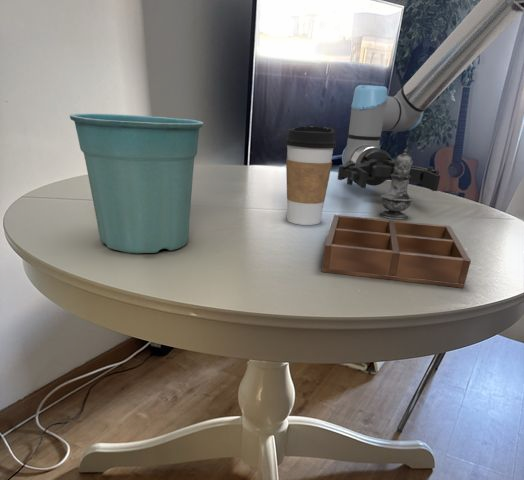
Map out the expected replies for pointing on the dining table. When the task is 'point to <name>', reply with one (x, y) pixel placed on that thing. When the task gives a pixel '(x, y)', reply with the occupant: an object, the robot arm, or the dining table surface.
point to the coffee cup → (308, 172)
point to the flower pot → (139, 178)
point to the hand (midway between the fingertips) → (400, 181)
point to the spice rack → (395, 251)
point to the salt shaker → (398, 189)
